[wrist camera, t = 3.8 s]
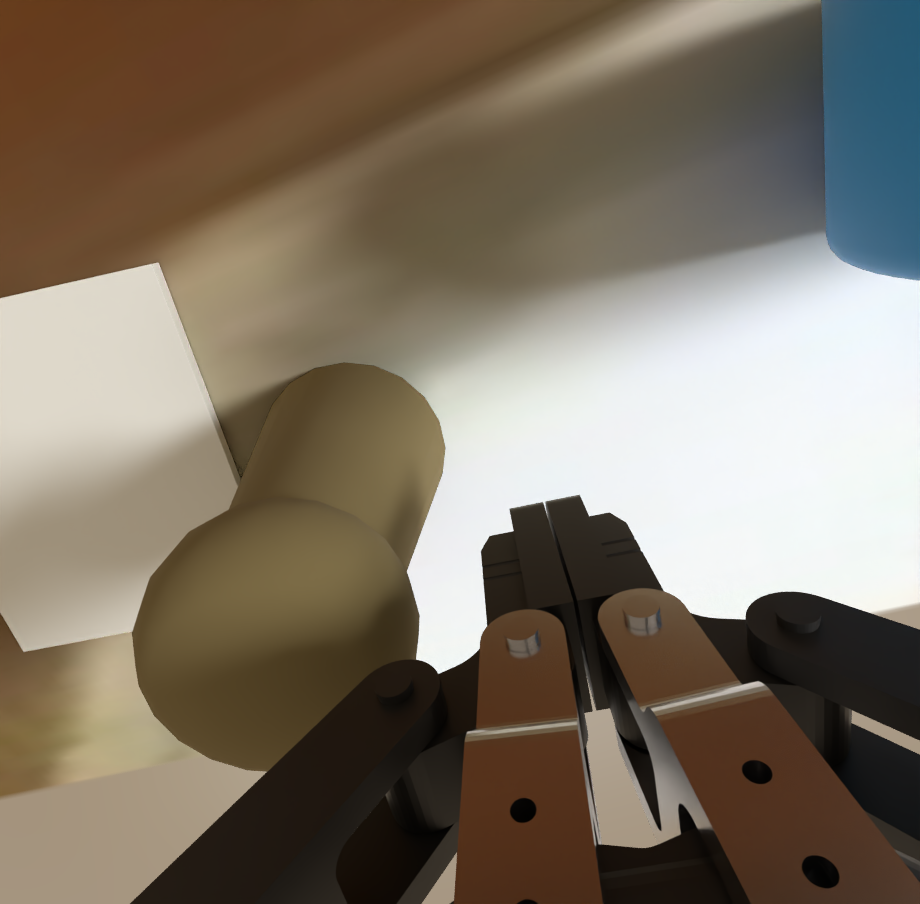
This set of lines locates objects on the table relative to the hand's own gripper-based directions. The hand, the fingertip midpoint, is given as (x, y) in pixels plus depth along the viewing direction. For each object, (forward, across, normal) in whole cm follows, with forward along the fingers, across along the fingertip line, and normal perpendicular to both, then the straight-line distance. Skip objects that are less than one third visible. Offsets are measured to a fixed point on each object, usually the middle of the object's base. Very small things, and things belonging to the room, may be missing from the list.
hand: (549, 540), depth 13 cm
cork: (+8, +5, 0) cm, 9 cm away
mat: (+8, +14, -1) cm, 16 cm away
